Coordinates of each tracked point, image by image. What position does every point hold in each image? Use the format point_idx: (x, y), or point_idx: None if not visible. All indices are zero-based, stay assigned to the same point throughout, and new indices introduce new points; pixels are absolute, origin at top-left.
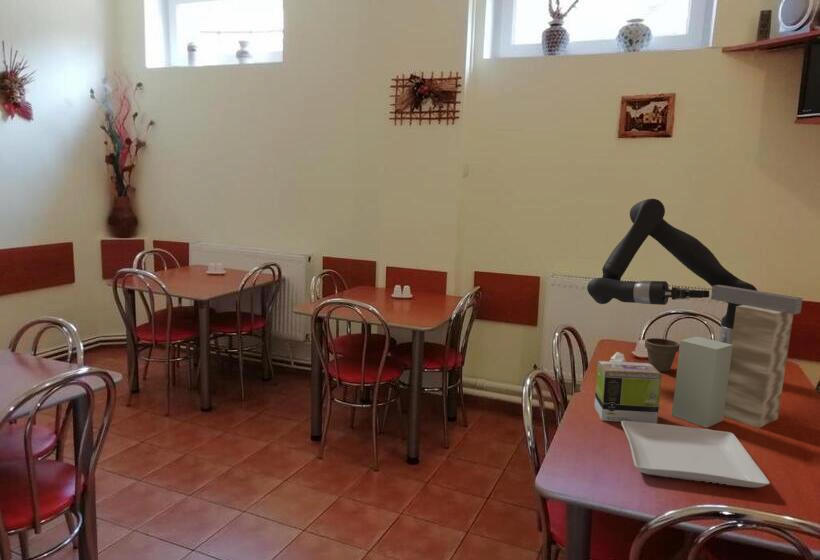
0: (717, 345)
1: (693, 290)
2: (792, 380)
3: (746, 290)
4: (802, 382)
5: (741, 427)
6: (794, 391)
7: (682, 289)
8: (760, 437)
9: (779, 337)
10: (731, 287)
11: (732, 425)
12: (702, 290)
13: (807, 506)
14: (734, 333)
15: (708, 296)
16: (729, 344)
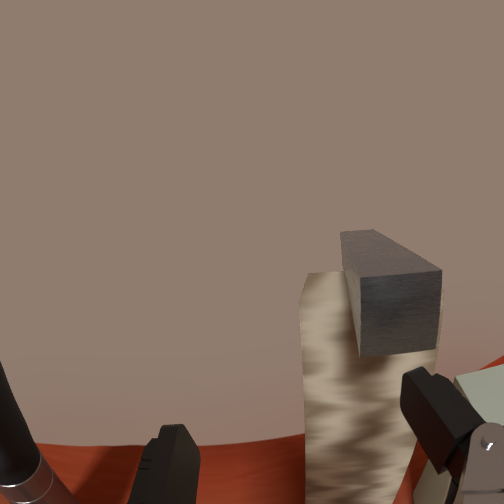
0: (497, 376)
1: (441, 418)
2: (72, 456)
3: (380, 245)
4: (77, 447)
5: (410, 469)
6: (131, 462)
7: (490, 491)
8: (418, 443)
9: None
10: (376, 258)
11: (416, 477)
12: (173, 458)
13: (498, 361)
14: (432, 369)
15: (197, 450)
16: (461, 378)
